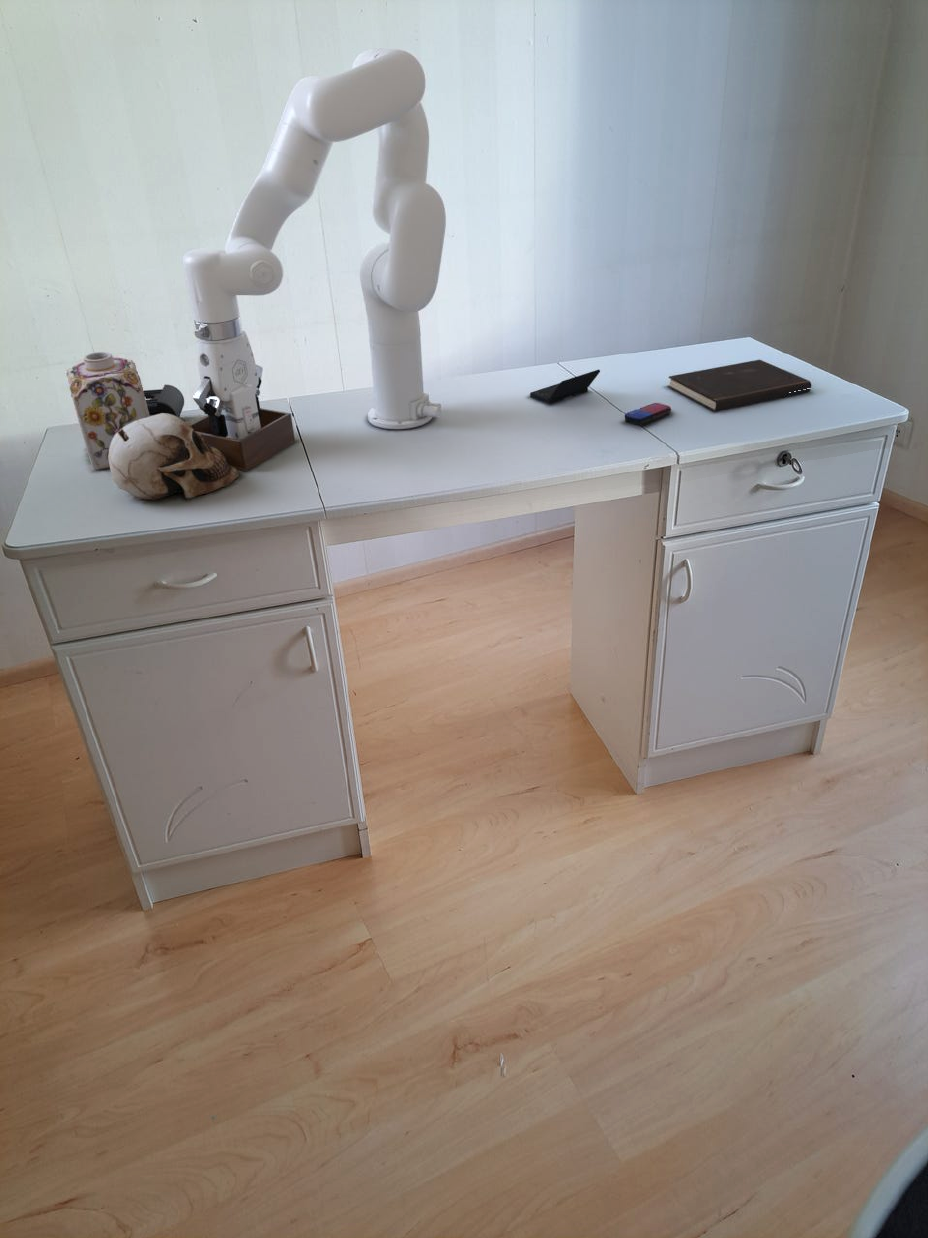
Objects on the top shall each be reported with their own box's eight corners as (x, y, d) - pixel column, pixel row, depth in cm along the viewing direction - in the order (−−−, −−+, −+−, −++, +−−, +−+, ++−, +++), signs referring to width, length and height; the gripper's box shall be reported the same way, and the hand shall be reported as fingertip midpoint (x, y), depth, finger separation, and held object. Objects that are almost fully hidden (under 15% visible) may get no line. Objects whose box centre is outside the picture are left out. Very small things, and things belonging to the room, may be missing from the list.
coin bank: (247, 471, 149) (225, 399, 141) (183, 525, 138) (155, 450, 129) (177, 461, 155) (152, 391, 147) (110, 511, 144) (79, 439, 135)
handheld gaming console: (559, 374, 181) (581, 344, 173) (581, 400, 181) (605, 370, 172) (524, 397, 176) (546, 367, 167) (548, 423, 175) (571, 394, 167)
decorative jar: (88, 447, 161) (60, 350, 150) (152, 436, 164) (129, 341, 154) (92, 472, 152) (62, 370, 141) (161, 459, 155) (136, 360, 145)
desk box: (295, 441, 160) (291, 413, 157) (246, 471, 150) (240, 441, 147) (236, 430, 166) (231, 402, 163) (185, 458, 155) (179, 429, 152)
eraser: (657, 408, 169) (658, 399, 168) (674, 413, 166) (675, 404, 165) (620, 422, 163) (621, 413, 162) (637, 428, 160) (638, 419, 159)
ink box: (215, 445, 159) (202, 382, 152) (238, 437, 161) (226, 375, 155) (243, 457, 154) (231, 393, 147) (266, 449, 157) (255, 385, 150)
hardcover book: (667, 387, 178) (668, 376, 177) (757, 369, 186) (759, 359, 184) (715, 412, 166) (716, 401, 165) (810, 393, 173) (812, 381, 172)
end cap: (181, 435, 164) (173, 400, 161) (142, 438, 164) (134, 403, 160) (188, 416, 173) (180, 382, 169) (151, 418, 172) (143, 385, 168)
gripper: (201, 345, 138) (222, 447, 148) (268, 317, 150) (283, 412, 160) (165, 340, 141) (188, 440, 150) (234, 313, 153) (251, 406, 163)
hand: (237, 425), depth 155 cm, fingers open, 8 cm apart
